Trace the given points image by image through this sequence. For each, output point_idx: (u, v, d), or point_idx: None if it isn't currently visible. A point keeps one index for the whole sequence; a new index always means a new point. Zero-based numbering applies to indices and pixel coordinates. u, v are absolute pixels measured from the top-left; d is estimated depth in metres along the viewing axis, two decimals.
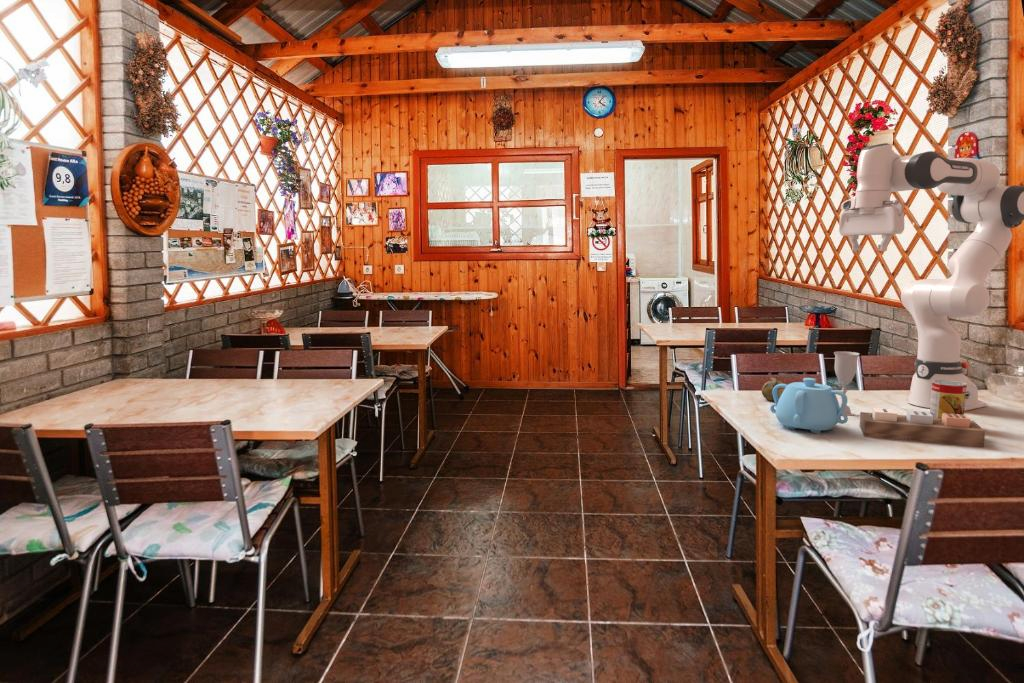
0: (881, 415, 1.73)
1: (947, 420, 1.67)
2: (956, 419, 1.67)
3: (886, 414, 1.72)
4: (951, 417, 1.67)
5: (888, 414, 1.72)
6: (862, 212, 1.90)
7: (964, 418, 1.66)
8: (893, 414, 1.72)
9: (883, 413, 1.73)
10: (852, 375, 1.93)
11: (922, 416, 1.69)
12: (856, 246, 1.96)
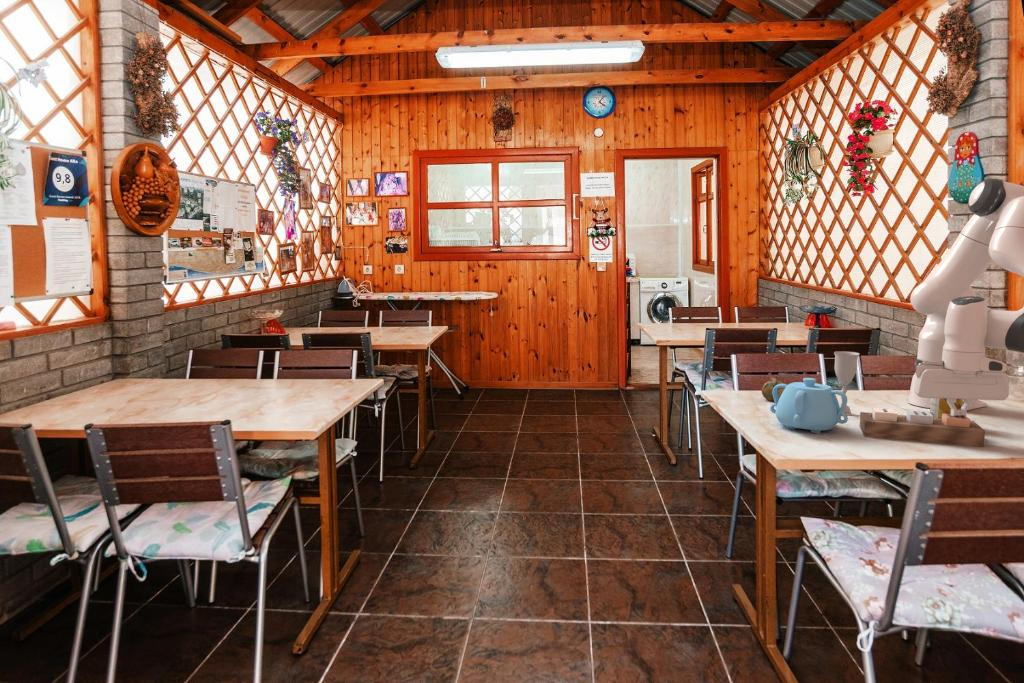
0: (881, 415, 1.73)
1: (947, 420, 1.67)
2: (956, 419, 1.67)
3: (886, 414, 1.72)
4: (951, 417, 1.67)
5: (888, 414, 1.72)
6: None
7: (964, 418, 1.66)
8: (893, 414, 1.72)
9: (883, 413, 1.73)
10: (852, 375, 1.93)
11: (922, 416, 1.69)
12: None
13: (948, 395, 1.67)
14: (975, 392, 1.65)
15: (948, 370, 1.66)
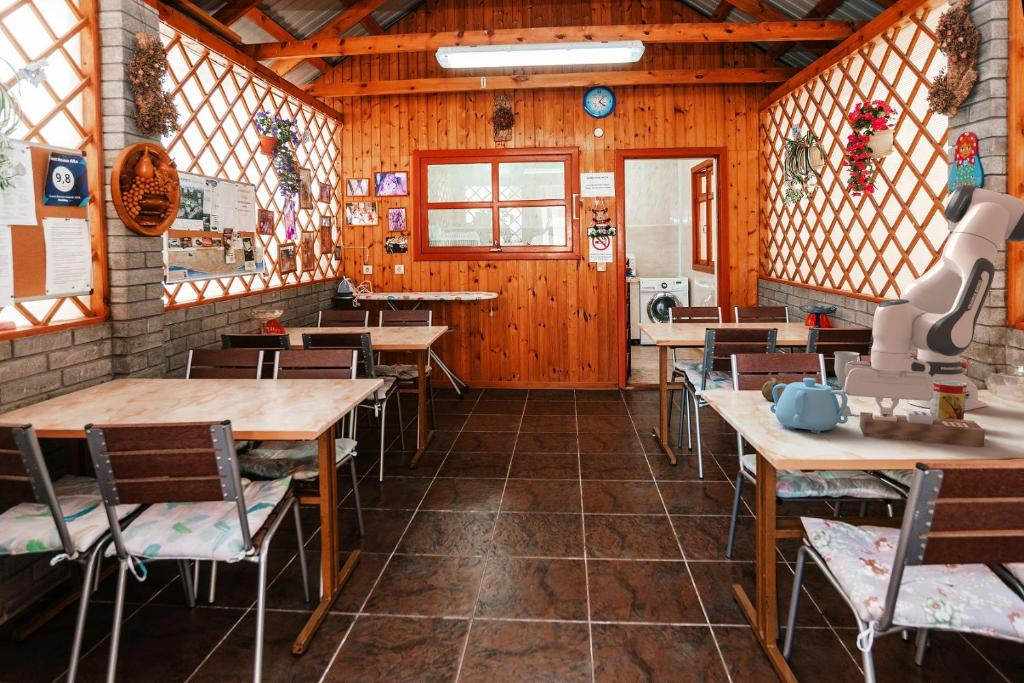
0: None
1: None
2: None
3: (886, 418, 1.72)
4: (950, 425, 1.68)
5: (888, 418, 1.72)
6: None
7: (963, 426, 1.67)
8: (893, 418, 1.72)
9: (883, 417, 1.73)
10: None
11: (922, 416, 1.69)
12: None
13: (874, 394, 1.73)
14: (900, 391, 1.71)
15: (873, 370, 1.73)
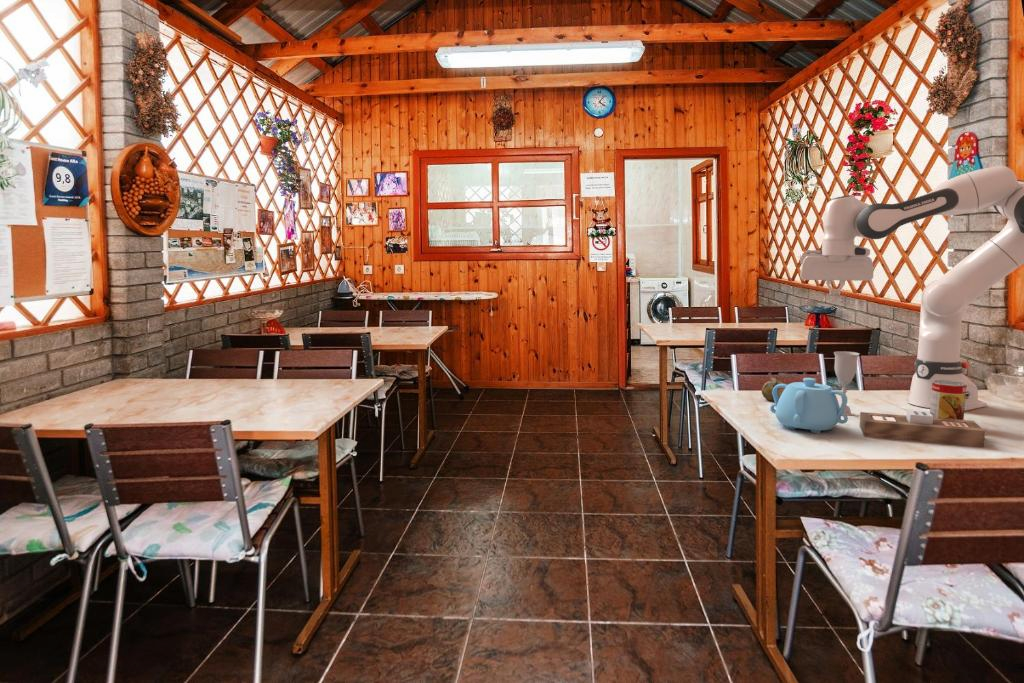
0: None
1: None
2: None
3: None
4: (950, 425, 1.68)
5: None
6: None
7: (963, 426, 1.67)
8: None
9: None
10: (852, 375, 1.93)
11: (922, 416, 1.69)
12: None
13: (824, 277, 2.05)
14: (845, 274, 2.03)
15: (824, 256, 2.04)
